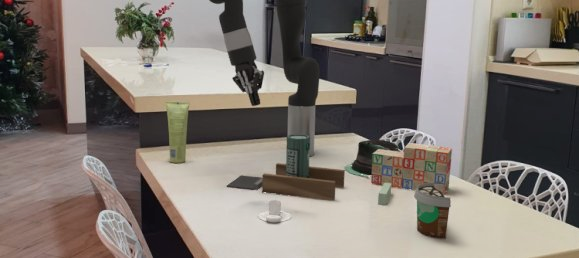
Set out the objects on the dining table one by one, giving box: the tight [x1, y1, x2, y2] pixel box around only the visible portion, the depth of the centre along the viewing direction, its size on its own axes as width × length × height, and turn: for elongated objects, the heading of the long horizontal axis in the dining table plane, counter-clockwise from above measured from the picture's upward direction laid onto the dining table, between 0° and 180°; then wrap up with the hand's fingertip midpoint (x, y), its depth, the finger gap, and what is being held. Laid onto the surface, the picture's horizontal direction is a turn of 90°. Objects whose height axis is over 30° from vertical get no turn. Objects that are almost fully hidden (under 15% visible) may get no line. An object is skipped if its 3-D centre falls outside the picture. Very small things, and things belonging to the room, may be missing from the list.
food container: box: [413, 182, 452, 240], centre depth 139 cm, size 12×6×10 cm, turn 5°
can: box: [285, 134, 310, 178], centre depth 167 cm, size 6×6×15 cm
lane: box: [261, 162, 346, 202], centre depth 168 cm, size 13×20×5 cm, turn 73°
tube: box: [165, 100, 190, 164], centre depth 193 cm, size 6×5×20 cm
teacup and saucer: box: [257, 199, 292, 223], centre depth 146 cm, size 9×8×4 cm
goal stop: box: [377, 183, 392, 206], centre depth 162 cm, size 10×2×3 cm, turn 163°
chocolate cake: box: [344, 139, 399, 178], centre depth 190 cm, size 15×19×20 cm
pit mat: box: [225, 174, 262, 191], centre depth 173 cm, size 11×9×2 cm
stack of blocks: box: [370, 142, 453, 196], centre depth 172 cm, size 21×6×12 cm, turn 65°
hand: (256, 105), depth 174 cm, fingers closed
